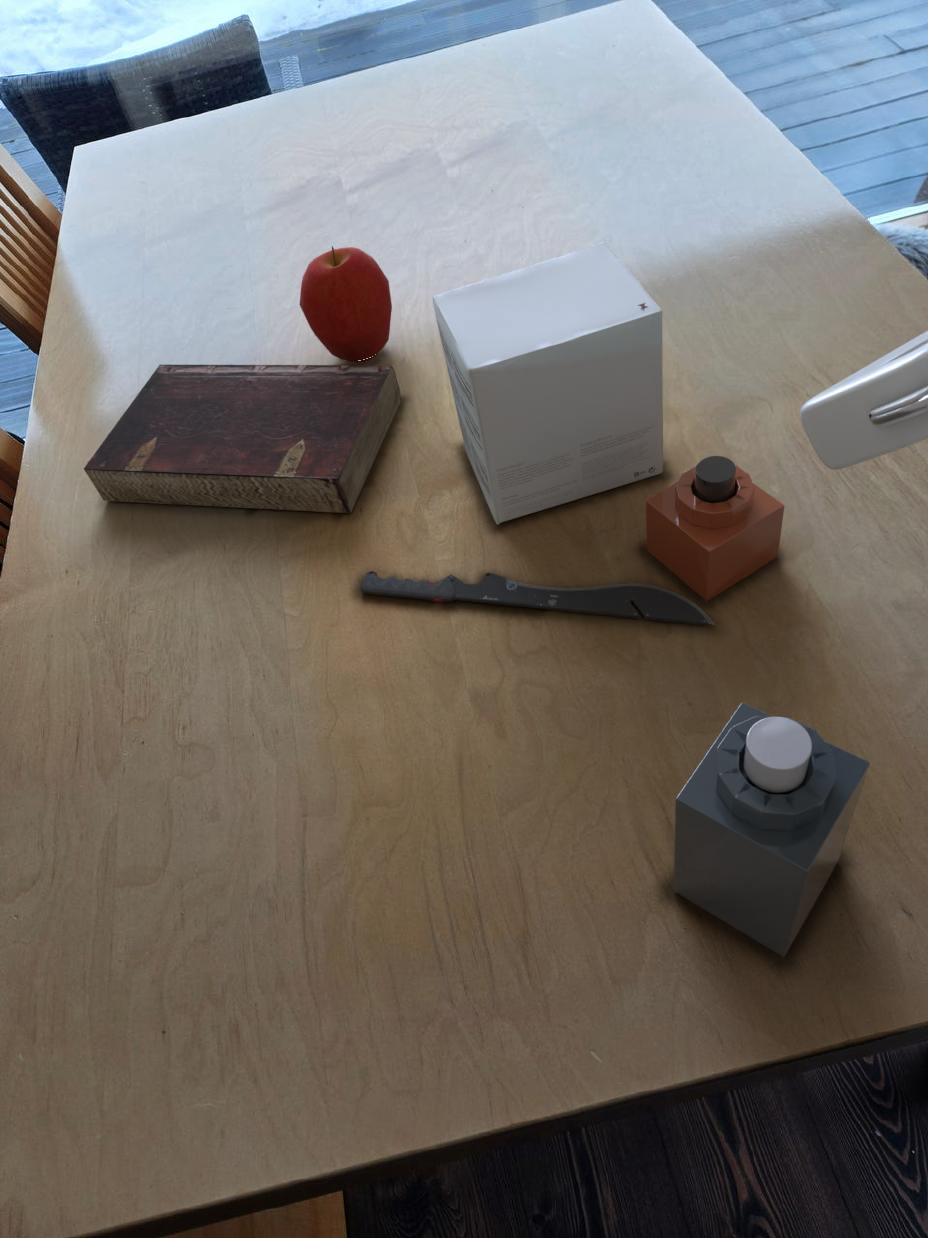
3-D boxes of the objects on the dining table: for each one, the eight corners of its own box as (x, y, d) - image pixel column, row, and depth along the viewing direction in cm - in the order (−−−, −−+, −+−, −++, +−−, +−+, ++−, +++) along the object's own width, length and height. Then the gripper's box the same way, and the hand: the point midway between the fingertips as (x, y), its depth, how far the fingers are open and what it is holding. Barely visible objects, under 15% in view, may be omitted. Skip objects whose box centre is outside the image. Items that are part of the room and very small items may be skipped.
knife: (719, 593, 79) (720, 589, 79) (714, 631, 77) (714, 626, 76) (373, 561, 89) (371, 557, 88) (358, 594, 86) (357, 590, 86)
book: (402, 398, 105) (392, 360, 101) (351, 515, 93) (338, 478, 90) (176, 394, 112) (159, 360, 109) (105, 503, 101) (83, 468, 98)
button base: (777, 556, 81) (787, 489, 75) (706, 601, 79) (710, 535, 73) (714, 508, 86) (718, 441, 80) (646, 550, 84) (644, 484, 78)
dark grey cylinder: (742, 491, 76) (744, 469, 74) (712, 509, 75) (713, 488, 74) (716, 471, 78) (717, 450, 76) (686, 489, 77) (686, 467, 76)
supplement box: (615, 398, 98) (607, 237, 85) (666, 475, 90) (667, 309, 76) (460, 446, 98) (427, 291, 84) (496, 529, 89) (465, 370, 75)
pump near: (817, 758, 52) (823, 733, 50) (789, 804, 51) (794, 780, 49) (760, 731, 54) (764, 706, 52) (732, 774, 53) (735, 750, 51)
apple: (387, 319, 115) (360, 211, 105) (416, 358, 109) (390, 247, 99) (310, 349, 114) (274, 242, 104) (334, 390, 108) (299, 281, 97)
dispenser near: (838, 861, 63) (876, 743, 52) (784, 958, 60) (812, 855, 48) (730, 803, 67) (743, 682, 56) (673, 891, 64) (675, 781, 52)
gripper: (969, 471, 37) (770, 518, 50) (1294, 263, 42) (1033, 356, 55) (900, 328, 36) (717, 414, 50) (1238, 134, 41) (988, 259, 54)
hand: (885, 382), depth 52 cm, fingers closed
